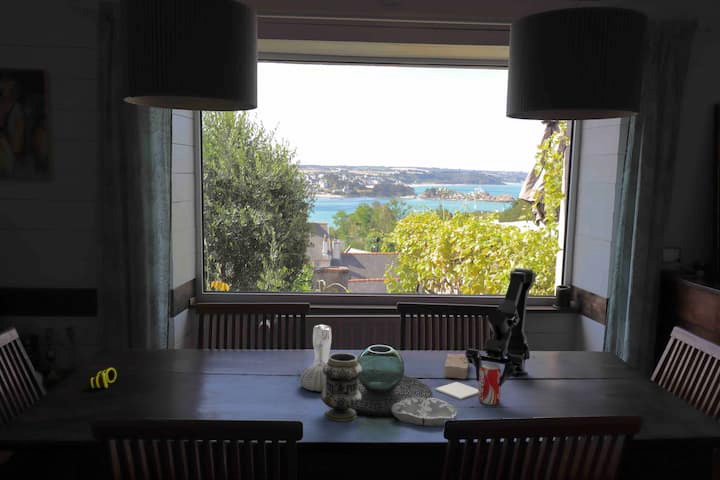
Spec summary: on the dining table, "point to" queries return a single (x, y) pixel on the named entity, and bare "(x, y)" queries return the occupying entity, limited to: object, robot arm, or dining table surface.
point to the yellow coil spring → (104, 378)
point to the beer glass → (321, 343)
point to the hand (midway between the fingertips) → (488, 383)
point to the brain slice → (424, 411)
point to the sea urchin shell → (314, 378)
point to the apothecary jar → (341, 386)
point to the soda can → (489, 384)
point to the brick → (456, 366)
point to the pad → (458, 390)
